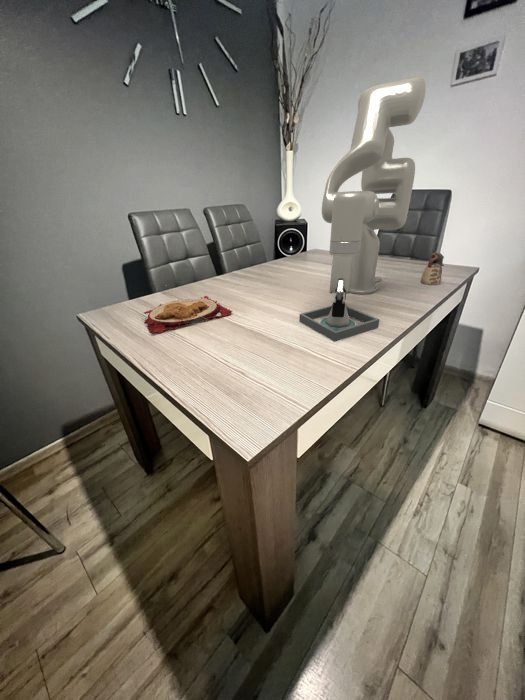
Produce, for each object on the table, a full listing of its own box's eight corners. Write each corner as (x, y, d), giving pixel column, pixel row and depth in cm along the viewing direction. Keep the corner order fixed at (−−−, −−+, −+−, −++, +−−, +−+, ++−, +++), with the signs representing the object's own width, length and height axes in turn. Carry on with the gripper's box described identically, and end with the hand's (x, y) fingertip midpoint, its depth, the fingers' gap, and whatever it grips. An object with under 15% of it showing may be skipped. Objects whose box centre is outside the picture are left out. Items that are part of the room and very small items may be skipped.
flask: (323, 318, 84) (325, 286, 79) (346, 317, 84) (350, 285, 79) (327, 328, 78) (330, 294, 73) (353, 327, 77) (357, 293, 72)
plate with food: (233, 317, 92) (232, 307, 90) (152, 336, 80) (149, 325, 78) (207, 299, 110) (206, 291, 109) (137, 313, 98) (135, 303, 97)
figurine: (444, 284, 110) (453, 253, 104) (429, 286, 108) (437, 254, 103) (431, 279, 116) (438, 250, 110) (416, 281, 115) (423, 251, 109)
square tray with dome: (339, 310, 90) (340, 303, 89) (378, 327, 78) (379, 319, 76) (299, 321, 84) (299, 313, 82) (334, 341, 71) (335, 333, 70)
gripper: (332, 242, 78) (327, 299, 87) (326, 254, 64) (322, 321, 72) (359, 242, 76) (352, 301, 85) (360, 254, 62) (351, 323, 70)
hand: (338, 310), depth 78 cm, fingers open, 9 cm apart
